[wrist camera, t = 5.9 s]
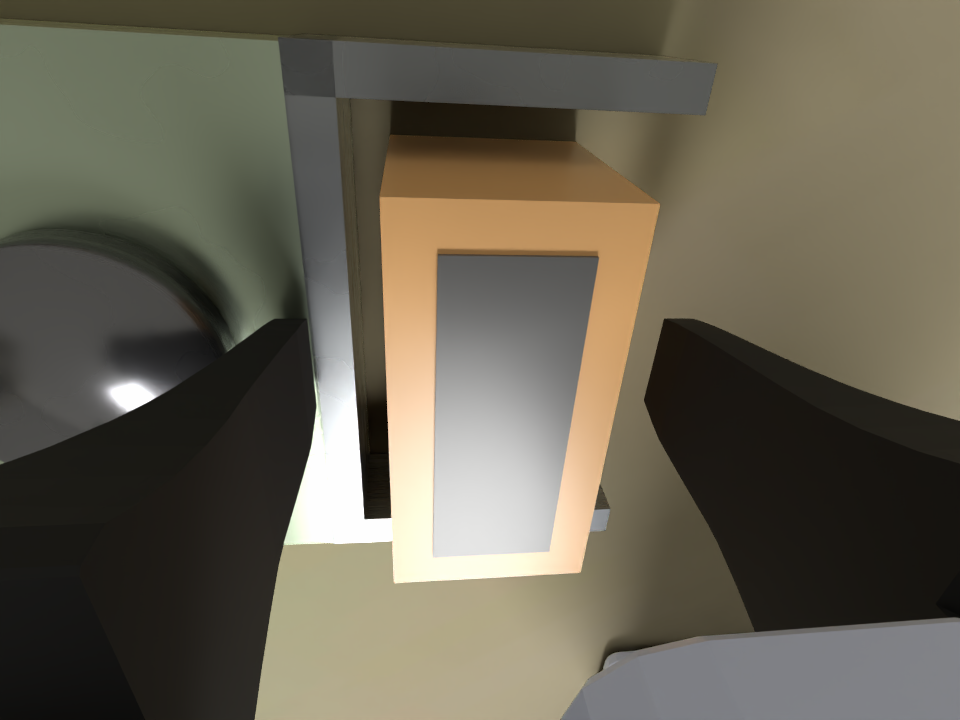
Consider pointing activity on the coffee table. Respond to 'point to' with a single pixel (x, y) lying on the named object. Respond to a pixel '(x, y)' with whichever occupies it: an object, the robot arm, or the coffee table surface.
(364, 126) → the coffee table surface
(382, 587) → the coffee table surface
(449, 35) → the coffee table surface
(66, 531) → the robot arm
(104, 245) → the green slab
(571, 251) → the orange framed grey panel
